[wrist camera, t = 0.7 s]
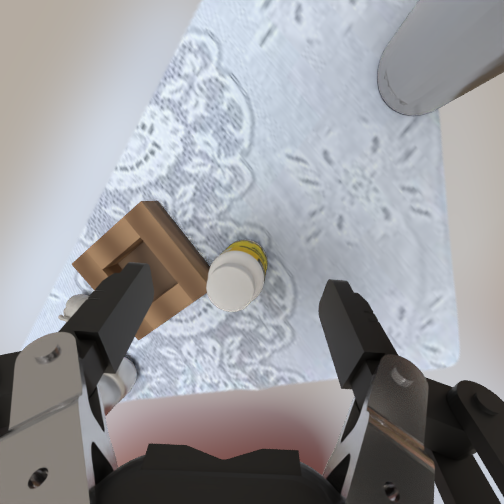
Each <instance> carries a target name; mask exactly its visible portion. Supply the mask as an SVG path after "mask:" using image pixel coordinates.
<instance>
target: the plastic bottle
mask: <svg viewBox="0 0 504 504" xmlns="http://www.w3.org/2000/svg"><path fill="white" fill-rule="evenodd" d="M136 378H137V370H136V367H135V365H134V364H133V362H132V361H131V360H129V359H128V358H126V357H124V358H123V360H122V362H121V364H120V366H119V368H118V370H117V372H116V374H109V373H103V375H102V377H101V379H100V381H99V382H98V384H99V387H100V392H101V397H102V403H103V408H104V413H105V416H106V415H107V414H108V413H109V412H110V411H111V410H112V409H113V407H114V406H115V405H116V404H117V403H118V402H120V401H121V400H122V399H123V398H124V397H125V396H126V395H127V394H128V393H129V392H130V391H131V389H132V387H133V385H134V383H135V382H136Z"/></svg>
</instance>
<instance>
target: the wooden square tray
mask: <svg viewBox="0 0 504 504" xmlns="http://www.w3.org/2000/svg"><path fill="white" fill-rule="evenodd" d="M129 262H135V263H147V264H149V266H150V270H151V276H152V281H153V287H154V298H153V301H152V304H151V306H150V308H149V310H148V312H147V314H146V316H145V318H144V319H143V321H142V323H141V325H140V327H139V329H138V331H137V333H136V335H135V337H136V338H137V339H138V341H139V340H140V339H141V338H143V337H144V336H146V335H147V334H149V333H150V332H151V331H153V330H154V329H156V328H157V327H159V326H160V325H161V324H163V323H164V322H166V321H167V320H169V319H170V318H171V317H173V316H174V315H176V314H177V313H179V312H180V311H181V310H183V309H184V308H186V307H187V306H189V305H190V304H191V303H193V302H194V301H196V300H197V299H199V298H200V297H201V296H203V295H204V294H206V293H207V289H206V286H207V281H208V273H209V269H210V266H209V265H208V264H207V262H206V261H205V260H204V259H203V257H202V256H201V255H200V254H199V252H198V251H197V250H196V249H195V247H194V246H193V245H192V243H191V242H190V241H189V240H188V238H187V237H186V236H185V235H184V233H183V232H182V231H181V230H180V228H179V227H178V226H177V224H176V223H175V222H174V221H173V219H172V218H171V217H170V216H169V214H168V213H167V212H166V211H165V209H164V208H163V207H162V205H161V204H160V203H159V202H158V201H141V202H140V203H139V204H137V205H136V206H135V207H134V208H133V209H132V210H131V211H130V212H129V213H127V214H126V215H125V216H124V217H123V218H122V219H121V220H120V221H119V222H118V223H116V224H115V225H114V226H113V227H112V228H111V229H110V230H109V231H108V232H106V233H105V234H104V235H103V236H102V237H101V238H100V239H99V240H98V241H97V242H95V243H94V244H93V245H92V246H91V247H90V248H89V249H88V250H87V251H85V252H84V253H83V254H82V255H81V256H80V257H79V258H78V259H77V260H76V261H74V262H73V263H72V265H73V267H74V268H75V269H76V270H77V271H78V272H79V273H80V275H81V276H82V277H83V278H84V279H85V280H86V281H87V282H88V284H89V285H90V286H91V287H92V288H93V289H94V290H95V289H96V288H97V287H98V285H99V284H100V283H101V282H102V281H103V280H104V279H106V278H107V277H109V276H110V275H112V274H114V273H120V272H121V271H122V269H123V268H124V267H125V266H126V264H127V263H129Z"/></svg>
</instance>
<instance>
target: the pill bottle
mask: <svg viewBox="0 0 504 504" xmlns="http://www.w3.org/2000/svg"><path fill="white" fill-rule="evenodd" d="M267 264H268V261H267V255H266V253H265V251H264V249H263V248H262V247H261V246H260V245H259V244H258V243H256V242H254V241H252V240H239V241H236V242H234V243H233V244H231V245H230V246H229V247H228V248H227V249H226V250H225V251H224V252H223V253H221V254H220V255H219V256H218V257H217V258H216V259H215V260H214V261H213V263H212V265H211V266H210V269H209V273H208V281H207V286H206V289H207V294H208V297H209V299H210V300H211V302H212V303H213V304H214V305H215V306H216V307H218V308H219V309H221V310H224V311H228V312H235V311H239V310H242V309H244V308H245V307H247V306H248V305H249V304H250V302H251V301H253V300H254V299H255V298H256V297H257V296H258V295H259V294H260V292H261V290H262V288H263V285H264V281H265V275H266V270H267Z"/></svg>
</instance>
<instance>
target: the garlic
mask: <svg viewBox="0 0 504 504" xmlns="http://www.w3.org/2000/svg"><path fill="white" fill-rule="evenodd" d="M88 297H89V296H88V295H84V294H79V295H75V296H72V297H71V298H70V299H69V300H68V301H67V303H66V308H65V309H64V316H62V315H59V316H58V318H59V319H60V320H63V321H66V323H67V321H68V320H69V319H70V318H71V317H72V316H73V314H74V313H75V312H76V311H77V310H78V309H79V307H80V306H81V305H82V304H83V303H84V302H85V300H86V299H87V300H88Z"/></svg>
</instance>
